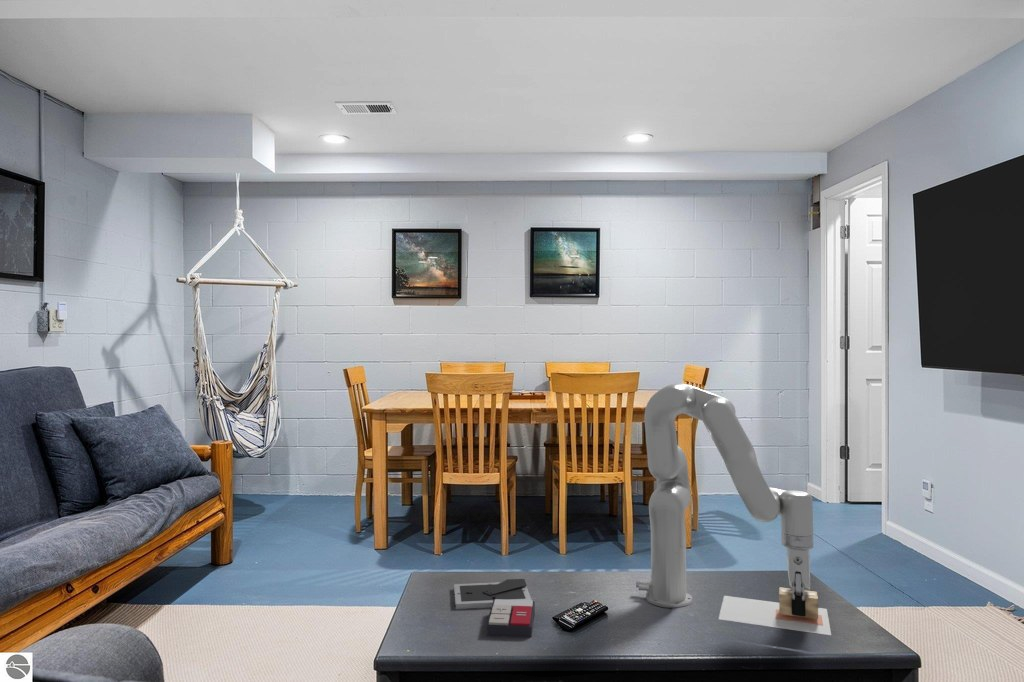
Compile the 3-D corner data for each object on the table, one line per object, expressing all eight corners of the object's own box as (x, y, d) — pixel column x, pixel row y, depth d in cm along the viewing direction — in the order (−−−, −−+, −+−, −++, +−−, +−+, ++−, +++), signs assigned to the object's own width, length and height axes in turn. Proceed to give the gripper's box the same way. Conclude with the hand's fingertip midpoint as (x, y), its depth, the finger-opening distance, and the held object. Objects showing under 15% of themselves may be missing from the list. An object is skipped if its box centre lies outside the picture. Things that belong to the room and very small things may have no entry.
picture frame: (524, 588, 193) (453, 591, 191) (524, 578, 193) (453, 581, 191) (532, 608, 178) (455, 611, 175) (532, 597, 178) (455, 601, 175)
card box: (817, 611, 169) (816, 591, 169) (818, 619, 164) (817, 598, 164) (779, 606, 172) (779, 586, 172) (779, 613, 167) (779, 593, 167)
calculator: (486, 622, 158) (493, 596, 173) (486, 639, 158) (493, 612, 173) (531, 623, 157) (534, 597, 172) (531, 641, 157) (534, 614, 172)
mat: (718, 621, 167) (718, 618, 167) (724, 597, 183) (724, 595, 183) (831, 637, 157) (831, 634, 157) (826, 610, 174) (826, 608, 174)
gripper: (814, 550, 159) (816, 625, 159) (811, 533, 175) (813, 601, 174) (781, 547, 162) (782, 621, 161) (781, 530, 178) (782, 597, 177)
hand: (798, 610), depth 168 cm, fingers closed on card box, 5 cm apart
